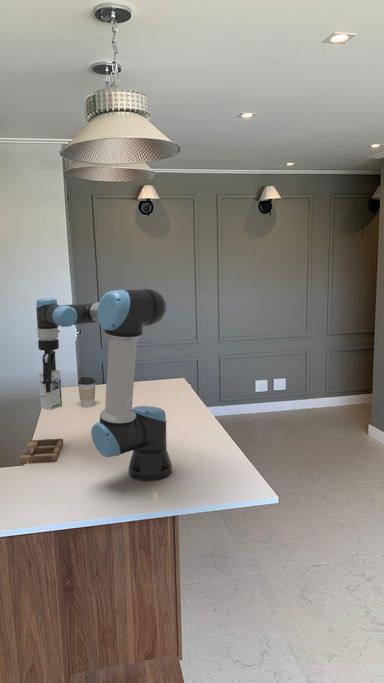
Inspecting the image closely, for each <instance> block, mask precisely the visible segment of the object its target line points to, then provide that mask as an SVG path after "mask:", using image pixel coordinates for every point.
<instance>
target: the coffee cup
mask: <svg viewBox="0 0 384 683" xmlns="http://www.w3.org/2000/svg"><path fill="white" fill-rule="evenodd" d="M77 384H78V392H79V393H78V394H79V400H80V407H81V408H84V407H85V408H92V406H93V407H94V406H95V398H96V380H95V379H94V378H93V377H84V376H83V377H80V378H79V380H78V381H77Z"/></svg>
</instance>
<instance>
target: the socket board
mask: <svg viewBox="0 0 384 683" xmlns="http://www.w3.org/2000/svg"><path fill="white" fill-rule="evenodd" d="M63 447H64V438H49V439H47V438H46V439H30V440H29V442H28V443H27V445H26V447H25V448H24V449H23V452H22V453H21V454H20V456H19V464H20V465H24V464H25V465H26V464H27V462H28V464H42V463H57V461H58V458H59V457H60V454H61V451H62V449H63Z"/></svg>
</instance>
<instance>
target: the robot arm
mask: <svg viewBox="0 0 384 683" xmlns="http://www.w3.org/2000/svg"><path fill="white" fill-rule="evenodd" d="M35 310H36V325H37V327H36V328H37V338H38V340H37V346H38V350H39V351H43V352H44V354H42V372H43V382H42V384H45V401H47V400H53V390H52V382H51V379H52V370H57V364H56V363H57V362H56V350H58V349H59V348H60V346H59V345H60V344H59V339H58V338H59V333H60V332H61V331H60V330H59V327H62V328H67V327H72V326H73V325H74V326H75V325H83V324H97V323H98V324H99V325H100V327H101V328H103V329H104V332H103V333H104V334H105V335H106V336H107V338H108V348H107V350H108V351H107V353H108V354H107V369H106V372H107V373H106V387H105V404H104V409H103V410H102V411H101V412H100V414H99V422H96V423H94V424H93V425H92V427H91V430H90V431H91V432H90V433H91V439H92V443H93V445H94V448H95V449H96V450H97V451H98V453H99V454H100V455H101V456H102V457H105V458H112V457H119V456H120V455H122V454H125V453H128V452H131V451H132V453H131V454H132V455H131V458H130V462H129V465H128V475H129V476H130V477H131V478H133V479H135V480H139V481H140V480H141V481H157V480H161V479H164V478H167V477H168V476H170V475H171V474H172V472H173V465H172V464H173V463H172V462H171V458H170V455H169V453H168V450H167V416H166V412H165V410H164V409H163V408H160V407H156V406H149V405H138V406H134V407H133V400H134V387H135V372H136V371H135V370H136V357H137V346H138V343H137V342H138V339H139V338H141V337H142V336H143V329H144V328H143V327H148V326H152V325H155V324H157V323H159V322H160V321H162V319H163V318H164V316H165V315H166V312H167V303H166V300H165V298H164V297H163V295H162V293H160V292H158V291H157V290H155V289H150V288H141V289H140V288H137V289H134V288H133V289H116V290H111V291H107V292H106V293H104V295H103V296H102V297H101V298H100V300H99V301H98V302H89V303H75V304H73V303H72V304H58V301H57V299H56V298H54V297H46V298H44V297H43V298H38V299H37V300H36V308H35Z"/></svg>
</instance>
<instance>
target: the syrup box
mask: <svg viewBox="0 0 384 683" xmlns="http://www.w3.org/2000/svg"><path fill="white" fill-rule="evenodd" d="M38 379H39V380H38V381H39V395H40V408H41V409H43V410H48V411H53V410H56V409H59V408H62V407H63V400H62V381H61V371H60V370H57V369H56V370H52V379H51V382H52V390H53V400H47V401H45V384H42V382H43V371H40V372H38Z"/></svg>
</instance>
